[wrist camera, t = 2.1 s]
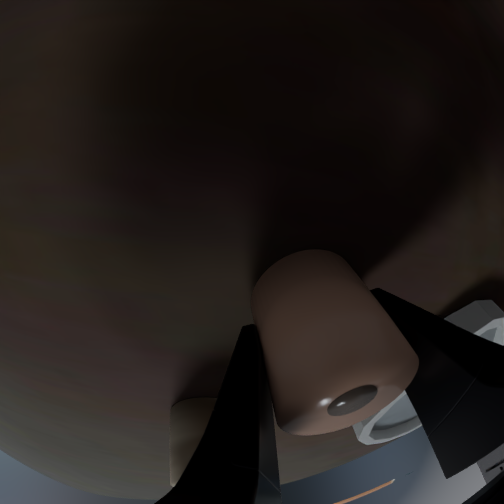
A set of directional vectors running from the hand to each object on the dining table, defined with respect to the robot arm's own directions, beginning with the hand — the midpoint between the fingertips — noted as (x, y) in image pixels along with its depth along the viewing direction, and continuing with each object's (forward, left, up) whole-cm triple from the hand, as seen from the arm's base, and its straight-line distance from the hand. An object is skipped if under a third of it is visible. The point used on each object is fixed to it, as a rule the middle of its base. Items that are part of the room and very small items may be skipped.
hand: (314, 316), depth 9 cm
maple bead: (+6, +7, -1) cm, 9 cm away
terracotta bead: (0, 0, -1) cm, 1 cm away
